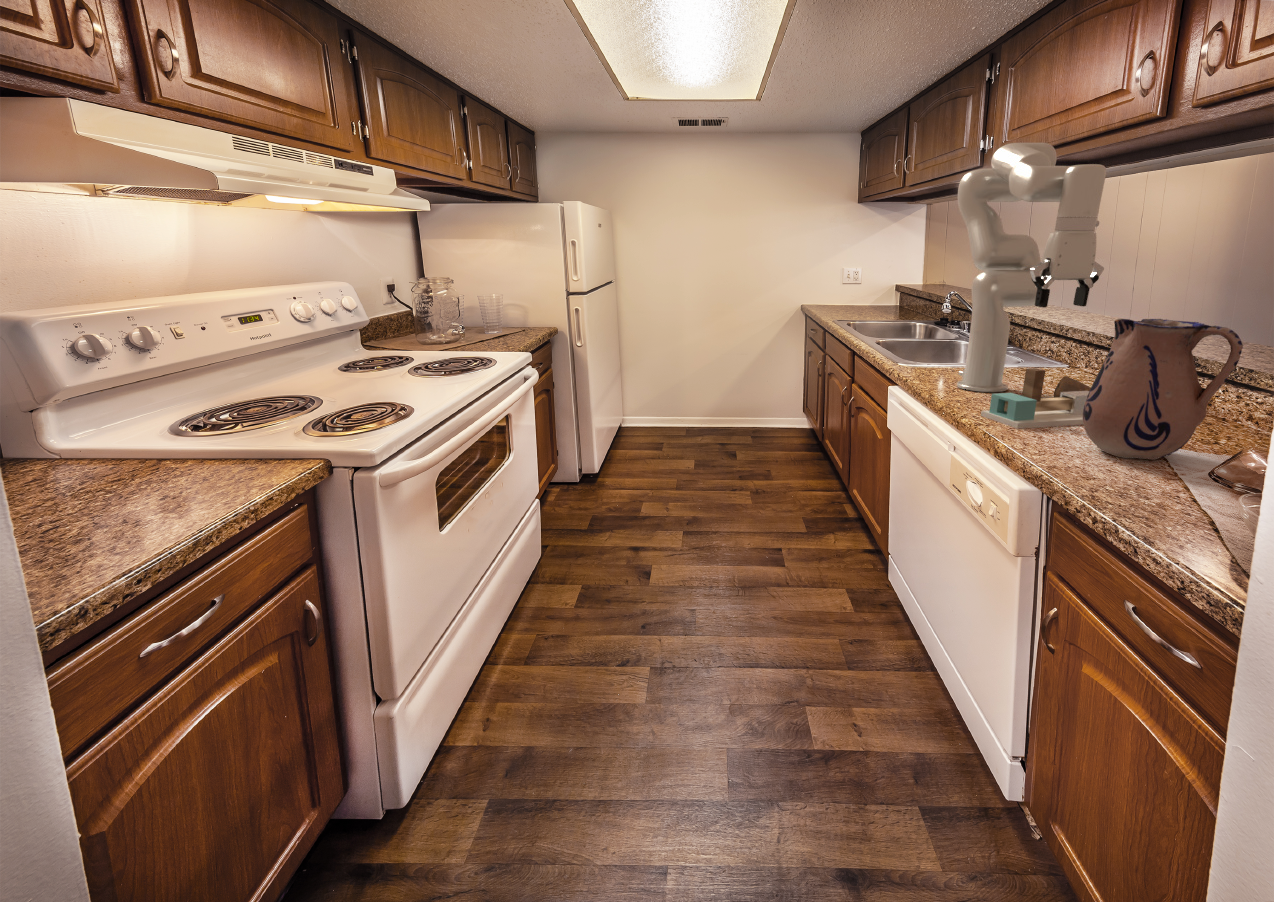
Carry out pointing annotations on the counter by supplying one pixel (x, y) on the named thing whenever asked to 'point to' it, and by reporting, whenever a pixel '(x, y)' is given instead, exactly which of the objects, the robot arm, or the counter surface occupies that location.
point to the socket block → (1013, 406)
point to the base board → (1039, 419)
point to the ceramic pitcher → (1152, 388)
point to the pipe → (1069, 386)
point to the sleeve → (1075, 401)
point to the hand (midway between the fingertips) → (1060, 306)
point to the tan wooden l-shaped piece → (1034, 391)
